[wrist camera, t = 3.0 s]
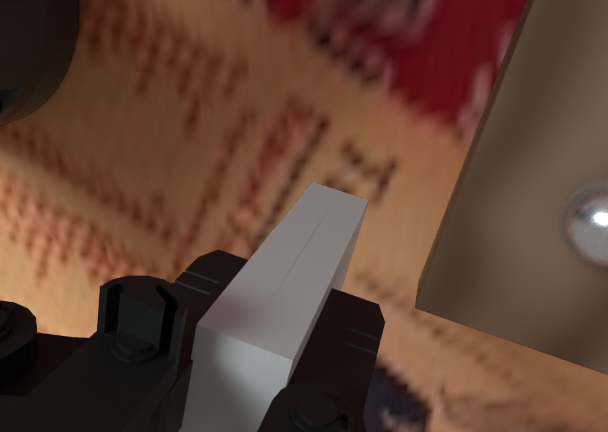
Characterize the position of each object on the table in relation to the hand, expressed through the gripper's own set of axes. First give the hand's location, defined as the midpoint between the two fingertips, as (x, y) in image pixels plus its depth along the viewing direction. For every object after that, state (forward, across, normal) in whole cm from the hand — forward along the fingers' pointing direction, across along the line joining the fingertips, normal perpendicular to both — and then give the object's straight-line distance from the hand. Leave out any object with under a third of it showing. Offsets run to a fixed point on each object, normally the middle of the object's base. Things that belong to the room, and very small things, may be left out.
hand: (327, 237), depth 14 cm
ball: (+8, +9, 0) cm, 12 cm away
